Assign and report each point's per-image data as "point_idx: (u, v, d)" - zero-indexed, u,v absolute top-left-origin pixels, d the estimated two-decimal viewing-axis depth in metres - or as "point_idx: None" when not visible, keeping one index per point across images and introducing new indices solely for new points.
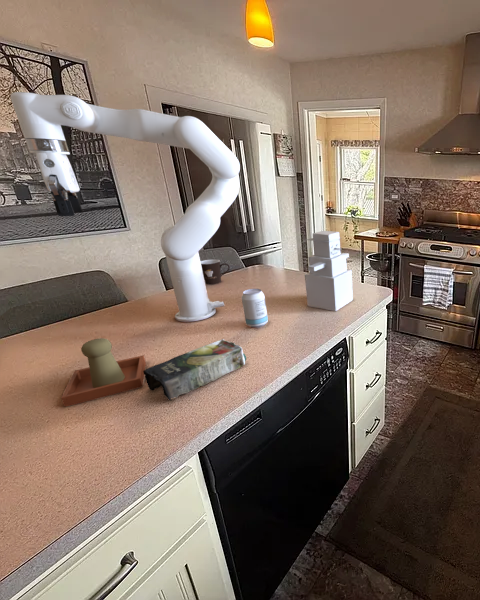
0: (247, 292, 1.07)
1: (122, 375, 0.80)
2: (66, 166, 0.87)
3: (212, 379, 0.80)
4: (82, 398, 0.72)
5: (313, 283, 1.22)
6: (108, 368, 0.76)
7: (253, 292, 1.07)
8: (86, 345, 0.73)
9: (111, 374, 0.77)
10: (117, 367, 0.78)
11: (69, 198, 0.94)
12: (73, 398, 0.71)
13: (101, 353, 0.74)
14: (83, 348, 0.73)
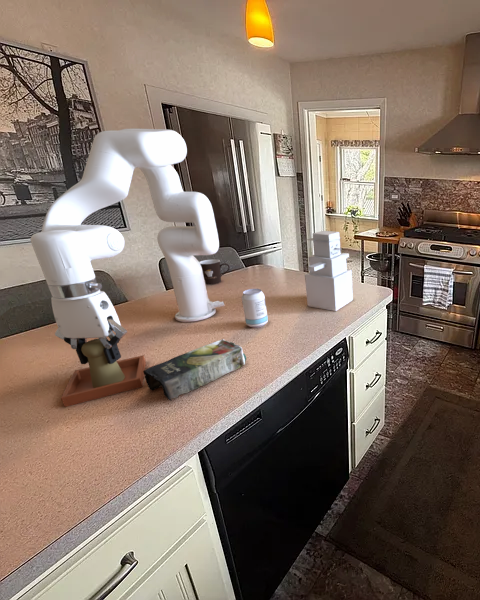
0: (247, 292, 1.07)
1: (122, 375, 0.80)
2: None
3: (212, 379, 0.80)
4: (82, 398, 0.72)
5: (313, 283, 1.22)
6: (108, 368, 0.76)
7: (253, 292, 1.07)
8: (86, 345, 0.73)
9: (111, 374, 0.77)
10: (117, 367, 0.78)
11: None
12: (73, 398, 0.71)
13: (101, 353, 0.74)
14: (83, 348, 0.73)
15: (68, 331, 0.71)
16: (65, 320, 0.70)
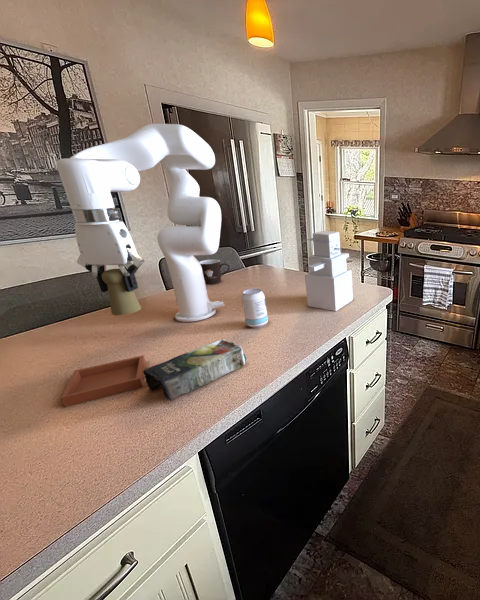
0: (247, 292, 1.07)
1: (139, 305, 0.85)
2: None
3: (212, 379, 0.80)
4: (82, 398, 0.72)
5: (313, 283, 1.22)
6: (126, 296, 0.81)
7: (253, 292, 1.07)
8: (106, 272, 0.78)
9: (129, 302, 0.82)
10: (134, 297, 0.83)
11: None
12: (73, 398, 0.71)
13: (120, 280, 0.79)
14: (103, 275, 0.78)
15: (90, 257, 0.76)
16: (87, 246, 0.75)
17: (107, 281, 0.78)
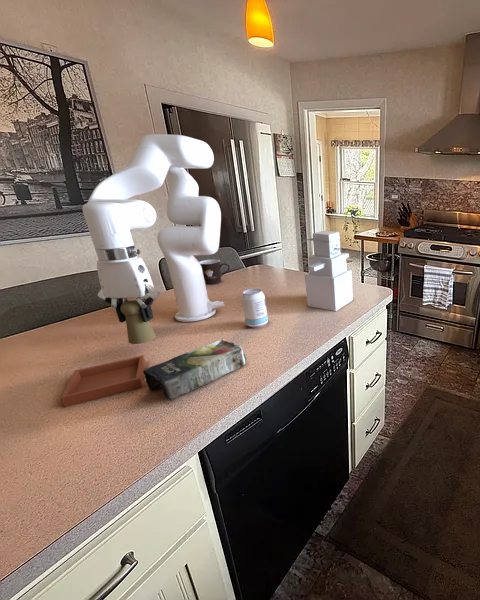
0: (247, 292, 1.07)
1: (154, 334, 0.90)
2: None
3: (212, 379, 0.80)
4: (82, 398, 0.72)
5: (313, 283, 1.22)
6: (143, 326, 0.87)
7: (253, 292, 1.07)
8: (124, 304, 0.84)
9: (145, 331, 0.87)
10: (150, 326, 0.89)
11: None
12: (73, 398, 0.71)
13: (137, 311, 0.85)
14: (122, 307, 0.84)
15: (110, 291, 0.82)
16: (108, 281, 0.81)
17: (125, 313, 0.84)
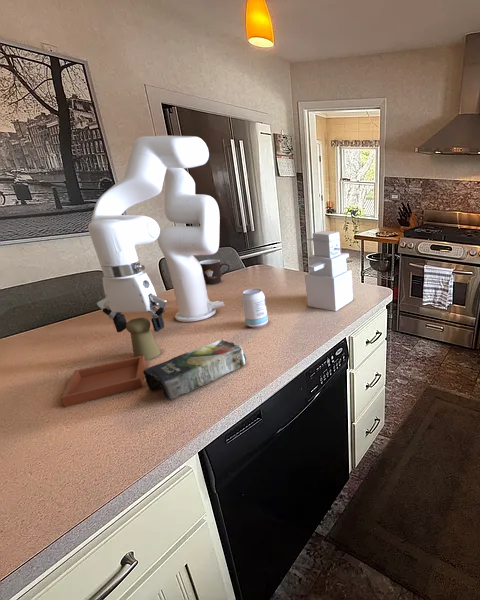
0: (247, 292, 1.07)
1: (158, 350, 0.92)
2: None
3: (212, 379, 0.80)
4: (82, 398, 0.72)
5: (313, 283, 1.22)
6: (148, 343, 0.88)
7: (253, 292, 1.07)
8: (130, 323, 0.86)
9: (150, 348, 0.89)
10: (154, 343, 0.91)
11: (118, 317, 0.87)
12: (73, 398, 0.71)
13: (142, 329, 0.87)
14: (128, 325, 0.85)
15: (116, 306, 0.84)
16: (114, 296, 0.83)
17: (131, 331, 0.86)
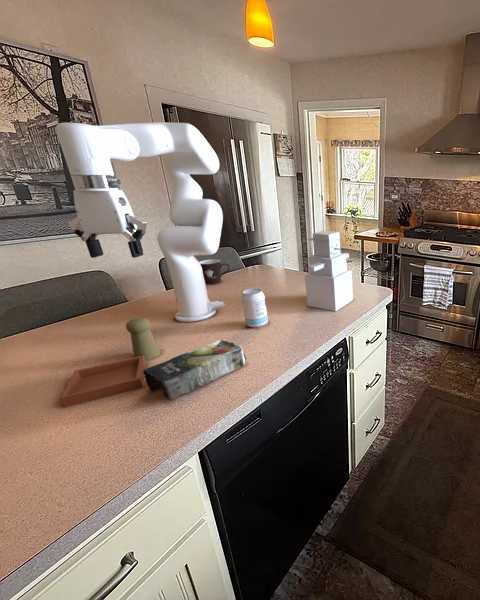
0: (247, 292, 1.07)
1: (158, 350, 0.92)
2: None
3: (212, 379, 0.80)
4: (82, 398, 0.72)
5: (313, 283, 1.22)
6: (148, 343, 0.88)
7: (253, 292, 1.07)
8: (130, 323, 0.86)
9: (150, 348, 0.89)
10: (154, 343, 0.91)
11: (92, 240, 0.79)
12: (73, 398, 0.71)
13: (142, 329, 0.87)
14: (128, 325, 0.85)
15: (88, 225, 0.76)
16: (86, 213, 0.75)
17: (131, 331, 0.86)
